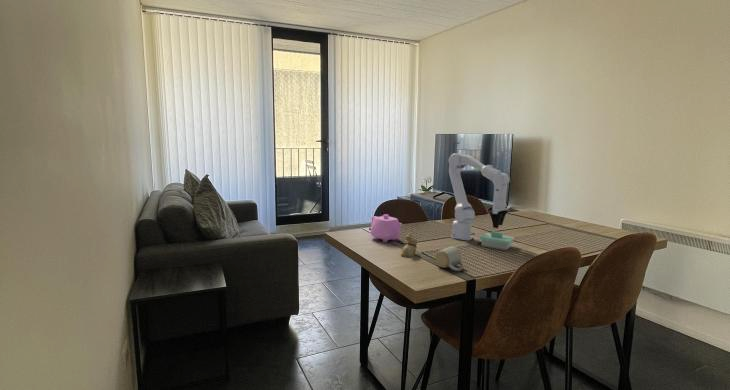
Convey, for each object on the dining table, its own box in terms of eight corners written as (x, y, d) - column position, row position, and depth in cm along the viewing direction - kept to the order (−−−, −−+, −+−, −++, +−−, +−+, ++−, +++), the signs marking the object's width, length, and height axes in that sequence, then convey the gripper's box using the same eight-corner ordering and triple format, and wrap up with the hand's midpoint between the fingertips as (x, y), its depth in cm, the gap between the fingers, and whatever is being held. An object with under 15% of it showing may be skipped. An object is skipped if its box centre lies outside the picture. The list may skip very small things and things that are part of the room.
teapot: (363, 237, 200) (363, 213, 199) (380, 233, 209) (381, 210, 207) (391, 246, 186) (392, 219, 184) (408, 241, 194) (409, 216, 192)
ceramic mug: (433, 265, 158) (434, 247, 157) (446, 262, 163) (447, 244, 162) (454, 273, 150) (456, 254, 149) (467, 269, 155) (469, 250, 154)
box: (481, 246, 189) (481, 237, 189) (486, 242, 196) (486, 234, 195) (507, 250, 183) (507, 242, 182) (511, 246, 189) (511, 238, 189)
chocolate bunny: (419, 256, 171) (420, 233, 169) (402, 256, 169) (402, 234, 168) (415, 252, 176) (416, 230, 175) (398, 253, 175) (399, 231, 173)
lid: (479, 239, 188) (479, 231, 188) (485, 235, 197) (485, 228, 196) (509, 244, 181) (509, 236, 181) (513, 240, 189) (514, 232, 189)
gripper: (504, 201, 178) (502, 230, 180) (512, 197, 190) (509, 224, 192) (489, 199, 182) (487, 228, 184) (497, 196, 194) (495, 222, 196)
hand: (497, 226), depth 188 cm, fingers open, 7 cm apart
